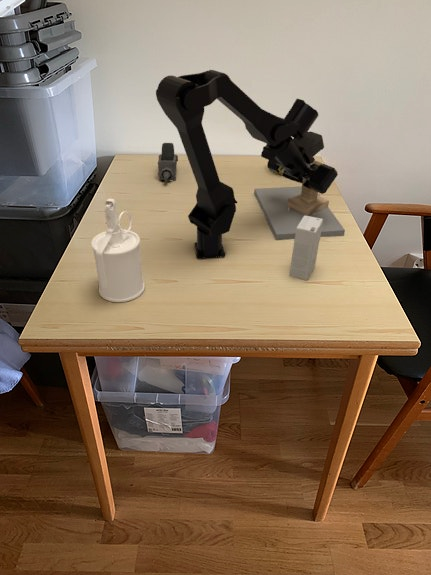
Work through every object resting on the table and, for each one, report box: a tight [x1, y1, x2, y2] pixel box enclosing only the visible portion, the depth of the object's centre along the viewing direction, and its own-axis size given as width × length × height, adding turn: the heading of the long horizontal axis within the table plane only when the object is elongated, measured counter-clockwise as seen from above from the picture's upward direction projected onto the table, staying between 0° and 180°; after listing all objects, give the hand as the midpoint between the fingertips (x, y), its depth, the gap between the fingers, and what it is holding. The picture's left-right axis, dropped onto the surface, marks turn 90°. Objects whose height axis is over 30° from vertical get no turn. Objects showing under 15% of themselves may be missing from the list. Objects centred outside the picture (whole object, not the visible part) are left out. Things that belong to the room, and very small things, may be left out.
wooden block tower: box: [287, 159, 330, 216], centre depth 121 cm, size 8×7×12 cm
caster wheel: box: [157, 142, 179, 182], centre depth 141 cm, size 6×10×15 cm
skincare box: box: [289, 216, 323, 281], centre depth 99 cm, size 6×4×12 cm
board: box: [253, 185, 346, 241], centre depth 125 cm, size 26×17×2 cm, turn 8°
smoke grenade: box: [90, 198, 146, 303], centre depth 91 cm, size 10×9×20 cm
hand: (314, 185), depth 122 cm, fingers closed on wooden block tower, 3 cm apart
